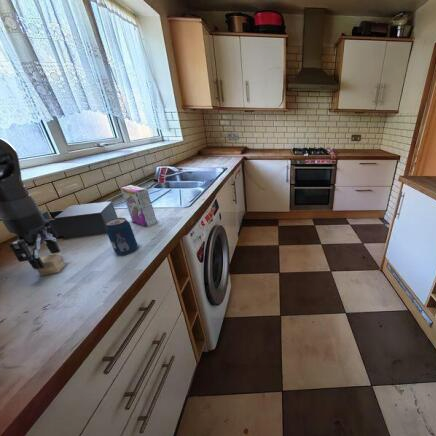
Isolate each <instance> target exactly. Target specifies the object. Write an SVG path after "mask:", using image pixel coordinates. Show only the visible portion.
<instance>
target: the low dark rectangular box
mask: <svg viewBox="0 0 436 436" xmlns="http://www.w3.org/2000/svg"><path fill="white" fill-rule="evenodd" d="M63 210H64V211H63V212H62V213H60V214H59V215H58V216H56V217H55V218H54V219H55V221H56V223H57V225H58V227H59V228H60V230H61V232H62V234H63V236H62V237H63V238H64V240H71V239H77V238H84V237H85V238H86V237H92V236H99V235H106V234H107V232H106V230H105V227H106V222H107V221H109V220H112V219H115V218H119V217H118V214H117V212H116V209H115V207H114V204H113V201H111V200H110V201H102V202H101V201H100V202H92V203H84V204H83V203H81V204H73V205H70V206H68V207H67V208H65V209H63ZM107 235H108V234H107Z"/></svg>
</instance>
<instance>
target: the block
mask: <svg viewBox="0 0 436 436" xmlns="http://www.w3.org/2000/svg"><path fill="white" fill-rule="evenodd" d="M40 259H41V260H42V262H43V264H44V265H45V267H44V268H42V269H37V270H36V271H37V272H38V274H39V276H41V277H43V276H48V275H53V274H59V273H60V272H61V270H63V268H64V267H65V266H66V265H67V263H66V262H65V260H64V257H63V256H62V254H61V253H54V254H49V255H42V257H40Z"/></svg>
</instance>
